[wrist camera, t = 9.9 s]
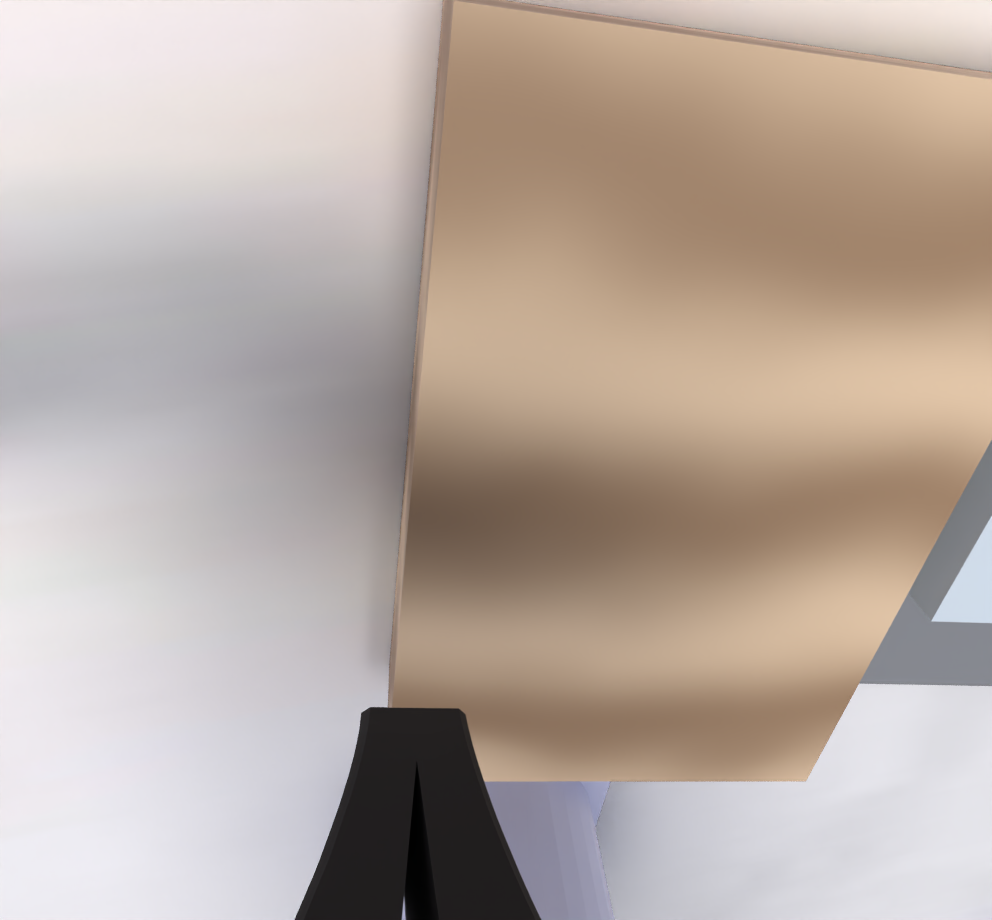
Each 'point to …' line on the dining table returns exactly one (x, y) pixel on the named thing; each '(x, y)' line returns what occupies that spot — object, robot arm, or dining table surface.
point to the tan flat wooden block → (682, 386)
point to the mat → (931, 651)
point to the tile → (962, 557)
